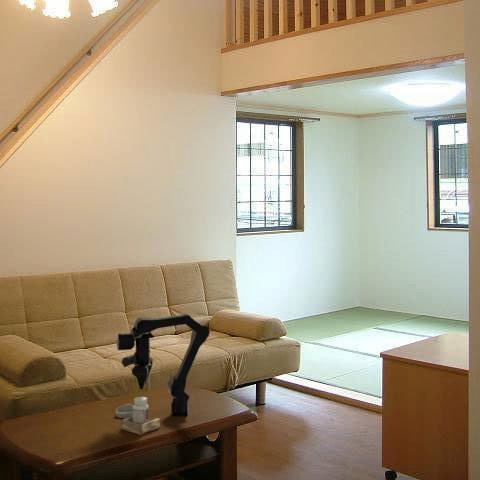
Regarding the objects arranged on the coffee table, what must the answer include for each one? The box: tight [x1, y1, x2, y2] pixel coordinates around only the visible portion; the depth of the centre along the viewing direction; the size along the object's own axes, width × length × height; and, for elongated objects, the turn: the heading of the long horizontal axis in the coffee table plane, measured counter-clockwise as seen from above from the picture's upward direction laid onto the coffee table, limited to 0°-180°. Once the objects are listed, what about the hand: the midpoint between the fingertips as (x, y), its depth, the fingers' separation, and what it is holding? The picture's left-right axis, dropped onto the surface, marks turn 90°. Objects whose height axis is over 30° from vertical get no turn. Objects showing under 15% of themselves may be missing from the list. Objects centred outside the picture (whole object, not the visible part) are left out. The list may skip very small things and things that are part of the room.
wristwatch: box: [115, 403, 134, 419], centre depth 281 cm, size 9×6×5 cm
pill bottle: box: [133, 396, 150, 425], centre depth 265 cm, size 6×6×11 cm
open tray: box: [120, 416, 161, 436], centre depth 265 cm, size 11×11×4 cm
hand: (142, 386), depth 279 cm, fingers open, 9 cm apart
